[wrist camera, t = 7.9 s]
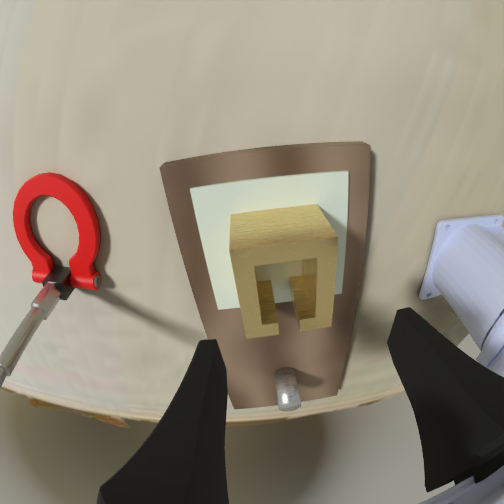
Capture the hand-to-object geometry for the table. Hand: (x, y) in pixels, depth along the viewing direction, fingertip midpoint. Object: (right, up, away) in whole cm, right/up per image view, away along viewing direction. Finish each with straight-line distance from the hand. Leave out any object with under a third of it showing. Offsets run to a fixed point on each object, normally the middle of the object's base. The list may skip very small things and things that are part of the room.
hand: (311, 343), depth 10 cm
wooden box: (-1, +3, +7) cm, 8 cm away
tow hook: (-17, +5, +7) cm, 19 cm away
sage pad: (-1, +4, +7) cm, 8 cm away
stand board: (0, -2, +12) cm, 12 cm away
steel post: (+1, -8, +15) cm, 17 cm away
